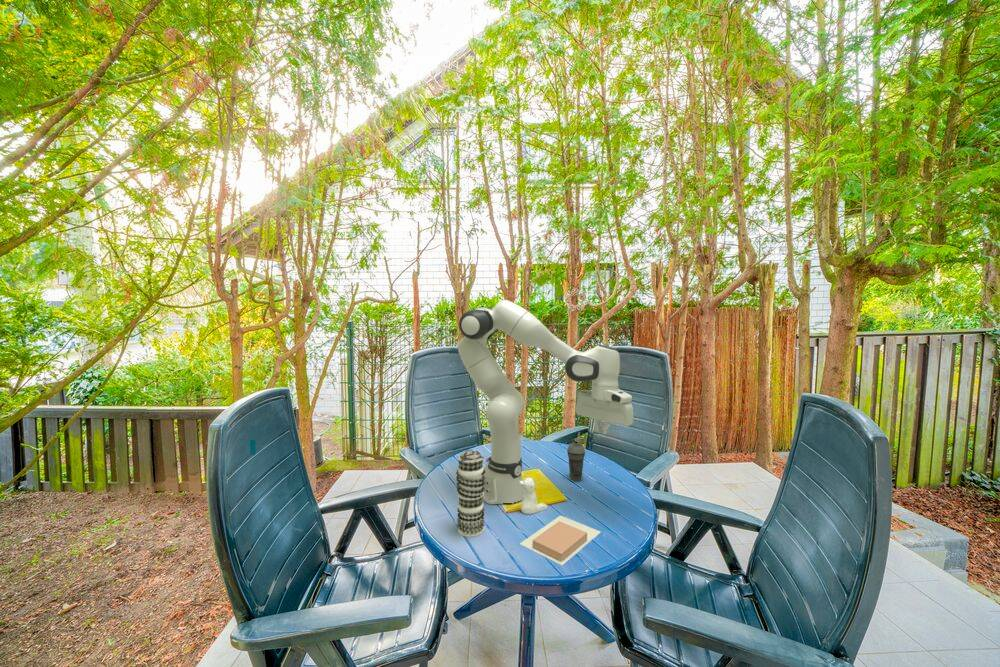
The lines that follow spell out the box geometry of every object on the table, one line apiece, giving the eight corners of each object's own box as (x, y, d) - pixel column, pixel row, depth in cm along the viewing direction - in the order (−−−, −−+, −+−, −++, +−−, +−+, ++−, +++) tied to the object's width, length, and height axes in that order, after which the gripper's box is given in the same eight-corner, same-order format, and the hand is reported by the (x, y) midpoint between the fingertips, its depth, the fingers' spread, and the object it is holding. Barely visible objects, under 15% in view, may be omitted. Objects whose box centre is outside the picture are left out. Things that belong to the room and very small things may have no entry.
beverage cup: (568, 474, 171) (569, 427, 170) (586, 477, 168) (586, 429, 167) (565, 481, 164) (565, 433, 163) (583, 484, 162) (583, 435, 160)
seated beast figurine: (548, 509, 142) (548, 475, 141) (537, 520, 134) (538, 485, 134) (524, 502, 147) (524, 470, 146) (512, 513, 139) (512, 479, 138)
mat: (519, 545, 120) (519, 543, 120) (560, 517, 137) (560, 515, 136) (562, 567, 110) (562, 565, 110) (601, 533, 127) (601, 531, 127)
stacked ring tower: (470, 518, 135) (470, 445, 134) (491, 528, 129) (491, 452, 128) (450, 530, 128) (449, 453, 127) (471, 541, 122) (471, 460, 121)
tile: (559, 527, 129) (532, 547, 118) (559, 521, 129) (532, 540, 118) (587, 540, 122) (561, 561, 112) (587, 532, 122) (561, 553, 112)
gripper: (573, 389, 143) (570, 427, 143) (628, 399, 129) (625, 442, 129) (582, 387, 147) (580, 425, 148) (636, 397, 134) (634, 438, 134)
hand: (601, 433), depth 138 cm, fingers closed
